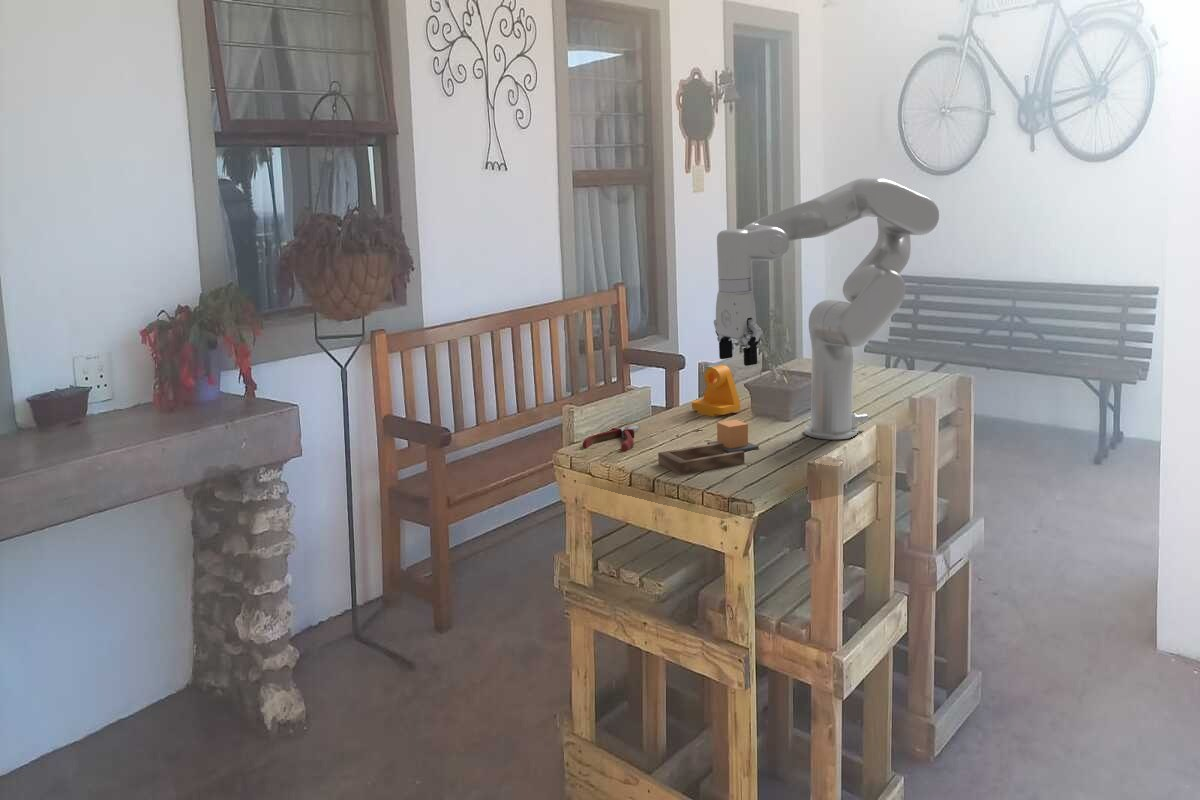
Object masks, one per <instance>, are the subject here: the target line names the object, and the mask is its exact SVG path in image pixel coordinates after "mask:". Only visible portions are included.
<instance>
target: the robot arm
mask: <svg viewBox="0 0 1200 800" xmlns="http://www.w3.org/2000/svg"><path fill="white" fill-rule="evenodd" d="M865 217H871V218H876V221H877V222H876V223H877V233H878V235H877V239H876V242H875V245H874V246H873V247H872V249H871V250H870V252H868V253H867V255H866V256H865V257H864V258H863V259H862V260H861V262H860V263H859V264H857V266H856V267H855V268H854V269H853V271H851V273H850V274H849V275H848V276H847V277H846V279H845V281H844V283H843V285H842V295H843V296H844V299H846V301H847V302H846V301H842V300H837V299H825V300H822V301H820V302H818V303H817V304H816V305H815V306H814V307H813V308H812V309H811V312H810V314H809V317H808V332H809V339H810V345H811V381H810V382H811V384H810V385H811V389H810V392H811V393H810V395H811V396H810V424H807V425H805V426H804V427H803V433H804V435H806V436H808V437H811V438H814V439H815V438H816V439H821V440H836V441H837V440H847V439H851V437H852V438H854V437H853V436H854V435H856V434H857V433H858V434H859V428H858V427H857V426H856V425H857V424H858V423H866V422H868V421H869V415H868V414H867V413H861V414H857V413H853V403H854V402H853V401H854V400H853V399H854V397H853V395H854V394H853V391H854V390H853V389H854V364H855V363H854V361H855V360H854V352H853V348H857V347H862V346H864V345H865V344H867V343H868V342H869V341H870V340H872V339H873V337H874V336H875V335H877V333H878V332H879V331H880V330H881V329H882V328H883V327H884V326H885V324H886V323H887V322H888V321H889V320H890V319H891V318H892V316H894V314H895V313H896V312H897V311H898V309H899V308H900V307H901V305H902V303H903V302H904V299H905V295H906V287H907V286H906V284H905V283H906V282H905V280H904V278H903V277H902V276H901V273H902V272H903V270H904V269H905V267H906V266H907V264H908V262H909V260H910V256H911V236H924V235H927V234H929V233H930V232H932V231H933V230H934V229H936V228H937V226H938V223H939V220H940V211H939V208H938V206H937V203H935V201H934V200H932V199H931V198H929V197H927V196H925V195H923V194H921V193H919V192H916V191H915V190H912V189H909V188H907V187H906V186H904V185H901V184H899V183H896V182H894V181H892V180H889V179H886V178H875V177H874V178H871V177H870V178H869V177H868V178H867V177H866V178H864V177H863V178H858V179H854V180H852V181H850V182H847V183H844V184H843V185H840V186H839V187H837V188H836V187H835V188H834V189H832V190H830V191H828V192H826V193H823V194H821V195H819V196H816V197H814V198H812V199H811V200H807V201H804V202H801V203H799V204H795V205H793V206H791V207H788V208H785V209H782V210H781V209H780V210H779V211H778V210H777V211H775V212H772V213H771V214H767V215H766V216H763V217H761V218H759V219H756V220H754V221H753V222H751V223H749V224H746V225H745V226H744V227H743V228H733V229H724V230H721V231H719V232H718V234H717V236H716V249H717V250H716V253H717V279H718V280H717V281H718V282H717V284H718V292H717V294H716V301H715V302H716V304H715V319H714V320H713V325H714V329H715V334H716V336H717V337H716V339H717V342H718V348H719V349H718V354H719V360H726V359H732V358H733V341H732V339H735V340H739V339H741V341H742V342H743V344H744V346H745V347H743V366H745V367H748V366H753V365H757V364H758V347H759V343H760V341H761V336H762V332H763V329H762V328H761V327H760V326H759V325H758V324H757V314H756V313H757V312H756V311H757V310H756V303H755V298H754V292H753V290H754V289H753V288H754V283H753V281H754V280H753V261H767V262H773V261H778V260H779V259H781V258H783V257H784V256H785V255H786V254H787V253H788V250H789V248H790V242H792V241H795V240H796V241H797V240H802V239H803V240H804V239H814V238H817V237H818V238H819V237H822V236H827V235H829V234H831V233H833V232H835V231H837V230H840V229H842V228H843V227H845V226H848V225H850V224H852V223H854V222H857V221H858V220H860V219H863V218H865Z"/></svg>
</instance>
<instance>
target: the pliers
mask: <svg viewBox="0 0 1200 800" xmlns="http://www.w3.org/2000/svg"><path fill="white" fill-rule="evenodd" d="M640 428H641V426H640V425H639V426H637V425H635V426H630V424H627V425H624V426H622V427H620V428H617V427H613V428H611V430H609V431H605V432H601V433H597V434H591V436H588V437H587V438H585V439H584V440H583V442H582V447H583V449H585V448H587V449H589V448H590V447H591V446H593V445H594V444H597V443H598V444H599V443H602V442H607V441H611V440H615V439H620V438H623V439H624V441H622V443H621V446H620V448H621V452H622V451H625V452H628V451H630V450H631V449H632V448H634V444H635V442H634V438H635V433H636V431H638V430H639V429H640ZM592 444H593V445H592ZM589 446H590V447H589ZM627 450H628V451H627Z"/></svg>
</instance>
